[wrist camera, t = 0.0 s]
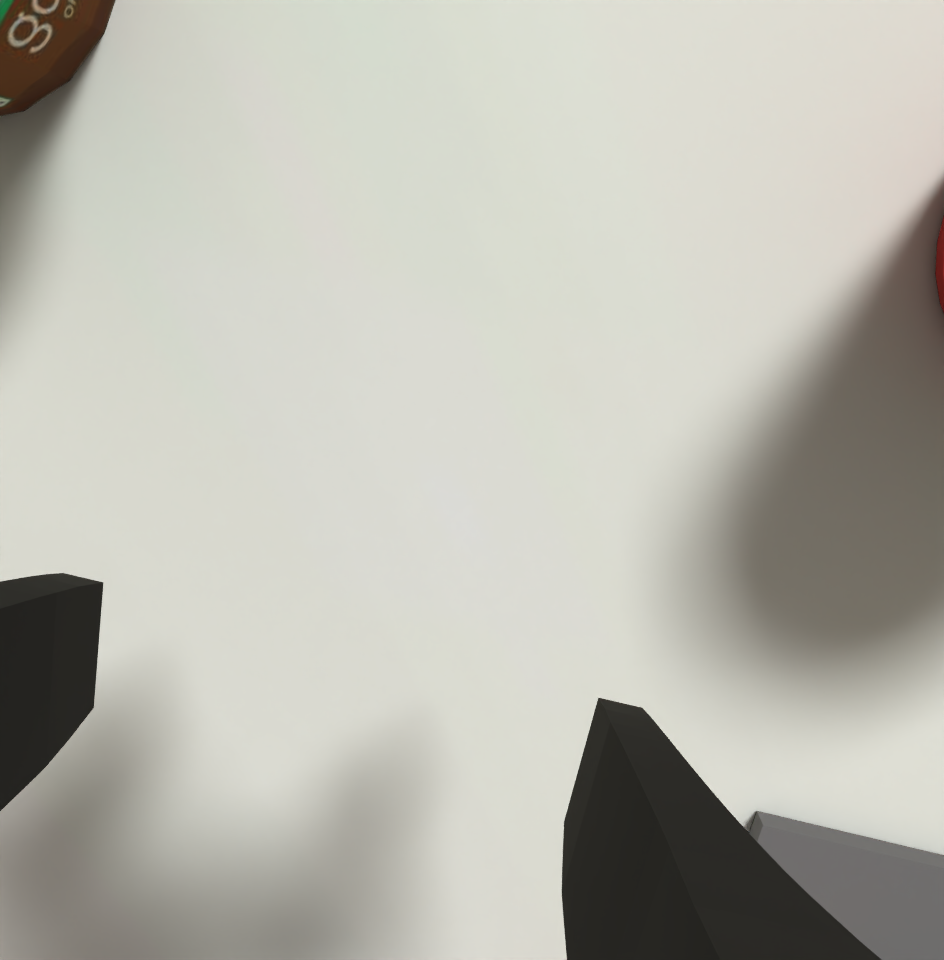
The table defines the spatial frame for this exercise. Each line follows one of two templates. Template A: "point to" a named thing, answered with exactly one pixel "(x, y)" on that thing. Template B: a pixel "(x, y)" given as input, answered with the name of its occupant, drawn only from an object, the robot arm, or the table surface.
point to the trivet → (864, 884)
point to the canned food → (940, 265)
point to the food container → (45, 46)
